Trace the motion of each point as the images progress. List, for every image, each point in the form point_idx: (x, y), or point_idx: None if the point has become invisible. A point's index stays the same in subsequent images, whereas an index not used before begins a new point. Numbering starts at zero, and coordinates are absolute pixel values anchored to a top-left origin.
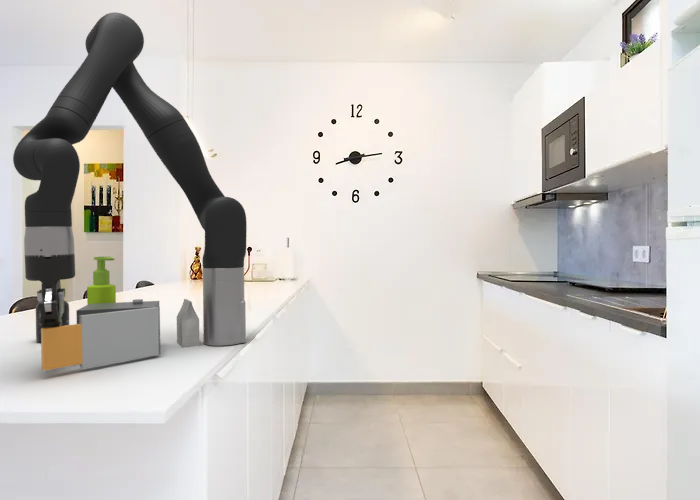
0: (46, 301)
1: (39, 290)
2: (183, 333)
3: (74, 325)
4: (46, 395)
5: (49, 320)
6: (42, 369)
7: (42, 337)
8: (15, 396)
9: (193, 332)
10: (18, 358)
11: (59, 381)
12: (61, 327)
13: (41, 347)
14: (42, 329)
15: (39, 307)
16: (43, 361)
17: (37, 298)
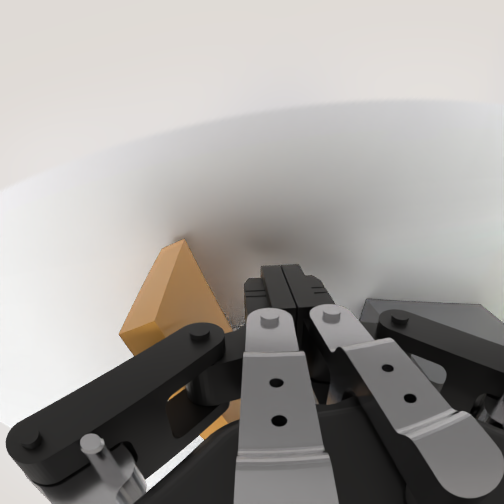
0: (36, 486)
1: (467, 499)
2: None
3: (200, 435)
4: (18, 269)
5: (198, 381)
6: (175, 242)
7: (141, 303)
8: (25, 201)
9: None
10: (493, 134)
11: (128, 283)
12: (170, 398)
13: (169, 272)
14: (131, 328)
15: (20, 423)
16: (158, 259)
17: (238, 480)
